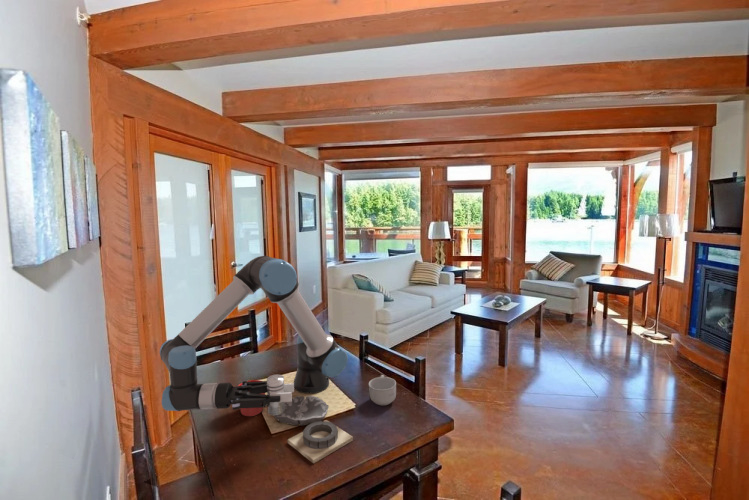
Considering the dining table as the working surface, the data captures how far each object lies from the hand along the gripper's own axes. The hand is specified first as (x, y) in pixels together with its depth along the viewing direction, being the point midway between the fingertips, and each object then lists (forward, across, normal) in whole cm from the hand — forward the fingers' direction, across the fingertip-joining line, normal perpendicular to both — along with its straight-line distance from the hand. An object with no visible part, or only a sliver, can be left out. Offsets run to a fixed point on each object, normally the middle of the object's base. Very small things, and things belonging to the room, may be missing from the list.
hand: (292, 392), depth 119 cm
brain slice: (+1, -17, -18) cm, 25 cm away
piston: (-5, 0, -6) cm, 8 cm away
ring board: (+9, 0, -18) cm, 20 cm away
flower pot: (-18, -21, -18) cm, 33 cm away
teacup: (+32, -25, -18) cm, 45 cm away
